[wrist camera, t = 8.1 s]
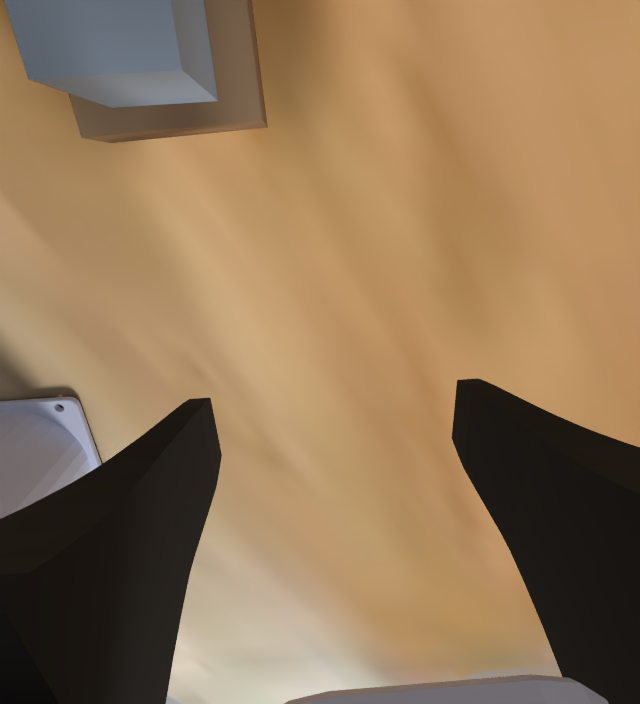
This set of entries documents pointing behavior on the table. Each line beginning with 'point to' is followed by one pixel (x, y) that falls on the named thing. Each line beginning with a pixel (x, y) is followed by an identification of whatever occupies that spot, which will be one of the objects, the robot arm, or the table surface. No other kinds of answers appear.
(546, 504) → the robot arm
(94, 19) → the blue block
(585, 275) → the table surface
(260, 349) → the table surface
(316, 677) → the table surface
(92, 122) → the walnut pedestal
